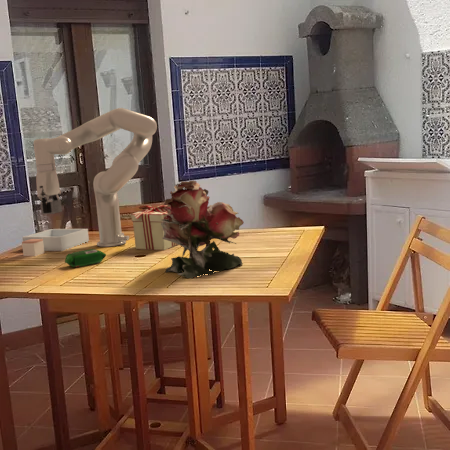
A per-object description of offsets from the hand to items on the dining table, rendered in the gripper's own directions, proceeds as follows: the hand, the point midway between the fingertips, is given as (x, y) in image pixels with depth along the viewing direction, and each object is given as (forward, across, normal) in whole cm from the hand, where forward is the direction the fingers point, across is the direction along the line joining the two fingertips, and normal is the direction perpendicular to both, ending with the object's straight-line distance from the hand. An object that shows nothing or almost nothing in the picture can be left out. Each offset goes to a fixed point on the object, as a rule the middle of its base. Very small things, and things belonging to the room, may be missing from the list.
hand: (51, 211), depth 267 cm
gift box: (+18, -9, +43) cm, 48 cm away
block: (+1, 0, 0) cm, 1 cm away
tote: (+17, -11, -8) cm, 22 cm away
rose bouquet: (+18, +26, +75) cm, 81 cm away
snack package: (+18, +23, +28) cm, 41 cm away
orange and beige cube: (+17, +6, -7) cm, 20 cm away
